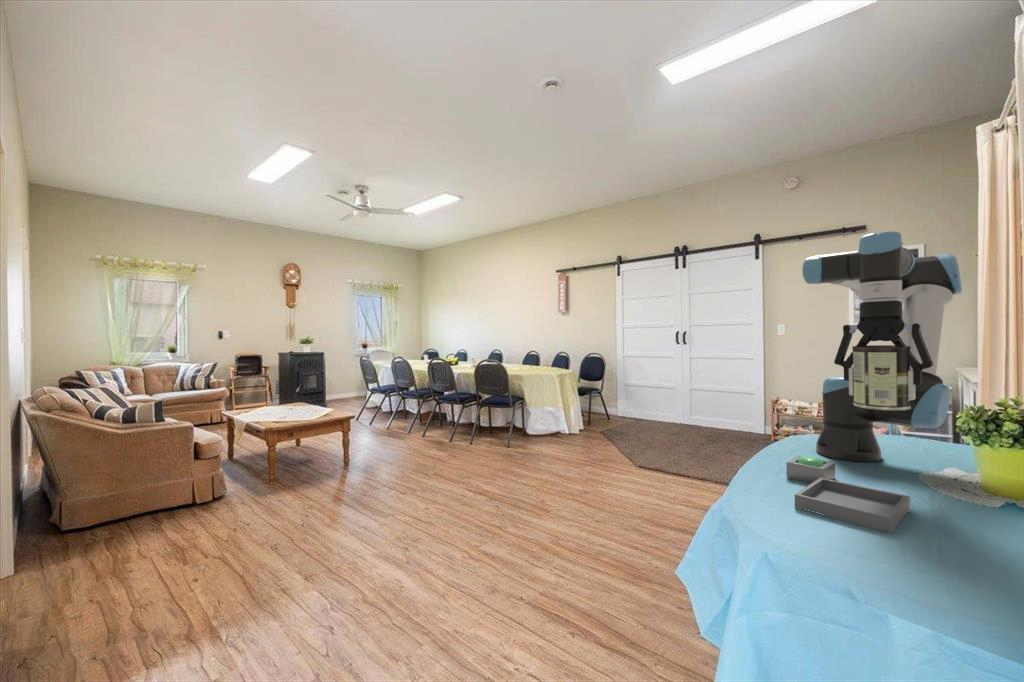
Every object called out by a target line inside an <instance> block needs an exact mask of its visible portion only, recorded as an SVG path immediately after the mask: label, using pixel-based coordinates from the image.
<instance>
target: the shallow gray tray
mask: <svg viewBox="0 0 1024 682" xmlns="http://www.w3.org/2000/svg"><path fill="white" fill-rule="evenodd" d="M910 497H911V496H910V495H906V494H905V495H904V494H899V493H895V492H891V491H885V490H883V489H882V490H881V489H876V488H873V487H871V488H870V487H867V486H862V485H858V484H852V483H847V482H843V481H837V480H835V479H833V480H829V479H825V478H819V479H817V480H816V481H814V482H813V483H810V484H808V485H807V486H805V487H804V488H802V489H801V490H799V491H798V492H796V493H795V494H794V508H795V507H797V508H796V509H798V508H801V509H800V510H802V509H806V510H810V511H814V512H818V513H821V514H824V515H827V516H826V517H828V516H830V517H829V518H831V517H834V518H833V519H835V518H836V520H839V521H843V522H846V523H851V524H855V525H859V526H863V527H866V528H869V529H873V530H877V531H881V532H883V533H889V534H892V533H893V531H894V530H895V529H896V528H897V527H898V525H899V524H900V523H901V522H902V520H903V519H904V518H905V517H904V516H907V514H908V513H907V512H908V511H909V512H910V511H911V509H910V508H911V507H910V506H911V505H910V504H911V498H910ZM824 515H823V516H824ZM903 517H904V518H903ZM900 521H901V522H900ZM899 522H900V523H899ZM896 526H897V527H896Z"/></svg>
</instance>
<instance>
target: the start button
mask: <svg viewBox="0 0 1024 682" xmlns="http://www.w3.org/2000/svg"><path fill="white" fill-rule="evenodd" d="M801 456H802V457H799V463H801V464H807V465H812V466H817V467H821V466H822V465H823V460H824V459H821V458H818V457H815V456H808V455H807V456H806V455H805V456H803V455H801Z"/></svg>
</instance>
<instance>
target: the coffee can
mask: <svg viewBox="0 0 1024 682" xmlns="http://www.w3.org/2000/svg"><path fill="white" fill-rule="evenodd" d="M856 346H857V345H853V346H852V347H851V349H852V351H853V366H852V367H853V374H854V406H857V407H861V408H867V409H874V410H890V411H898V410H909V409H911V407H910V400H908V370H910V364H909V363H908V362H907V351H910V348H911V347H910V346H906V347H896V346H895V345H894V344H893V345H889V344H887V345H884V344H883V345H882V344H881V345H879V344H877V345H874V344H873V345H872V344H871V345H866V347H856Z"/></svg>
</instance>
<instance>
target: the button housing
mask: <svg viewBox="0 0 1024 682" xmlns="http://www.w3.org/2000/svg"><path fill="white" fill-rule="evenodd" d="M802 456H803V455H798V456H794V457H793V458H791V459H790V460H788V461H786V462H785V464H786V465H785V466H786V478H787V477H788V478H787V479H790V478H792V479H791V480H795V479H796V480H795V481H799V480H800V481H799V482H804V481H805V482H804V483H808V482H809V483H810V484H811V483H813V482H814V481H816V480H817V479H819V478H825V479H829V480H835V479H836V462H835V461H830V460H825V459H822V460H823V465H822V466H821V467H817V466H812V465H807V464H801V463H799V457H802Z"/></svg>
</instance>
